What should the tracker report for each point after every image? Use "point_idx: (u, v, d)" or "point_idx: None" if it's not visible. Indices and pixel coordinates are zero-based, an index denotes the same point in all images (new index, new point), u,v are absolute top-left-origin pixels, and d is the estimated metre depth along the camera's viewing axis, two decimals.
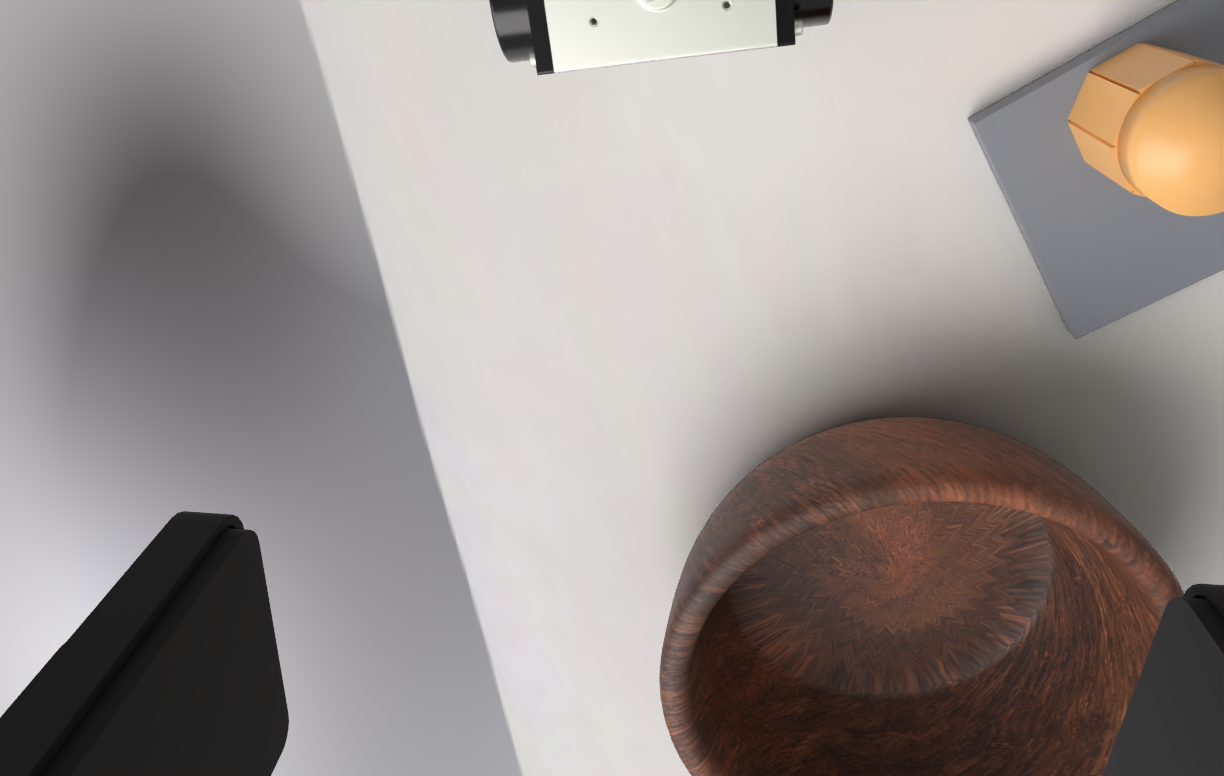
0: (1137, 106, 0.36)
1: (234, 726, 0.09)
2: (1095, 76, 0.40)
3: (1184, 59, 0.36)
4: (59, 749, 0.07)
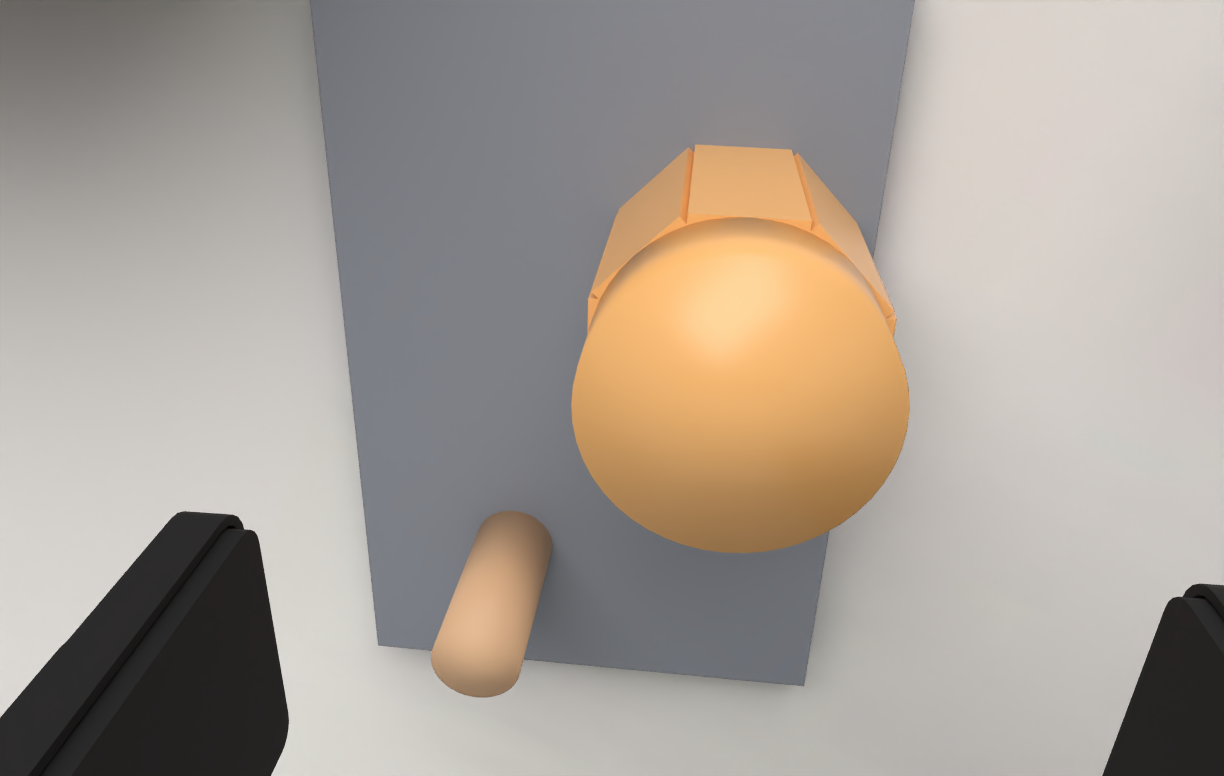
0: (879, 306, 0.15)
1: (234, 726, 0.09)
2: (860, 234, 0.20)
3: None
4: (58, 749, 0.07)
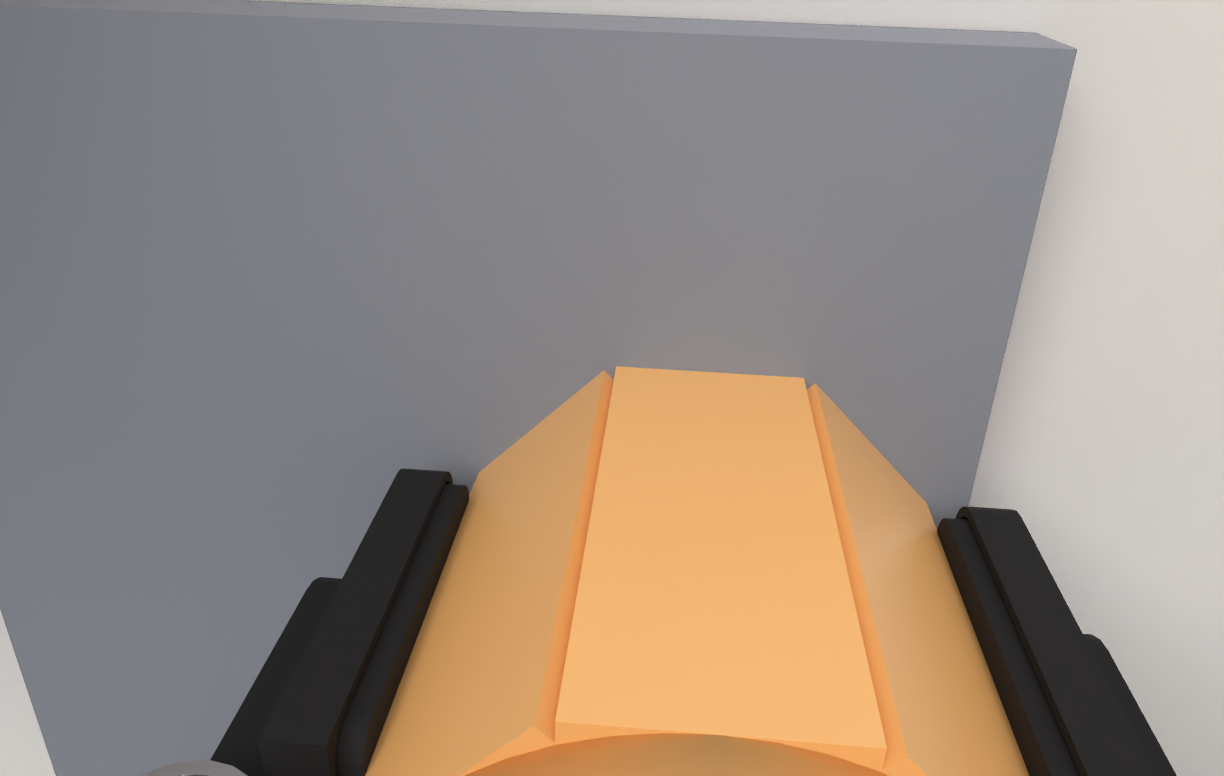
0: None
1: None
2: (940, 547, 0.10)
3: None
4: (367, 666, 0.08)
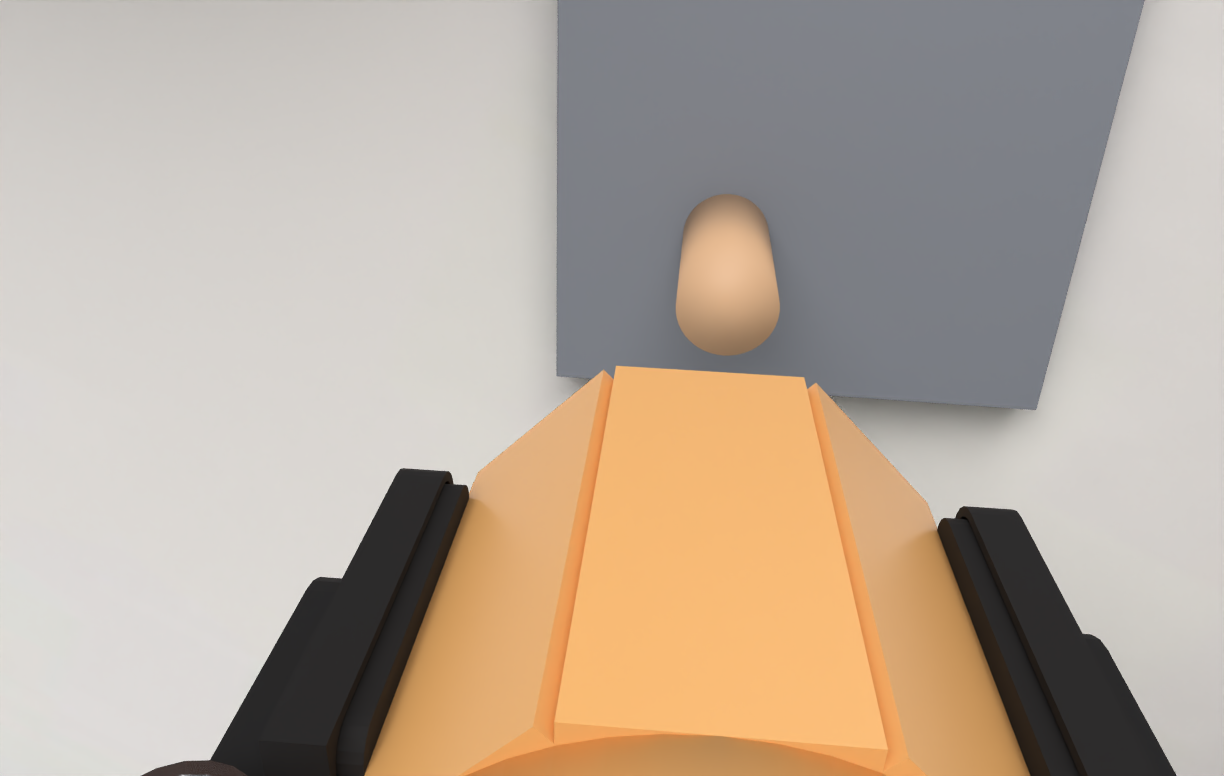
0: None
1: None
2: (941, 547, 0.10)
3: None
4: (367, 666, 0.08)
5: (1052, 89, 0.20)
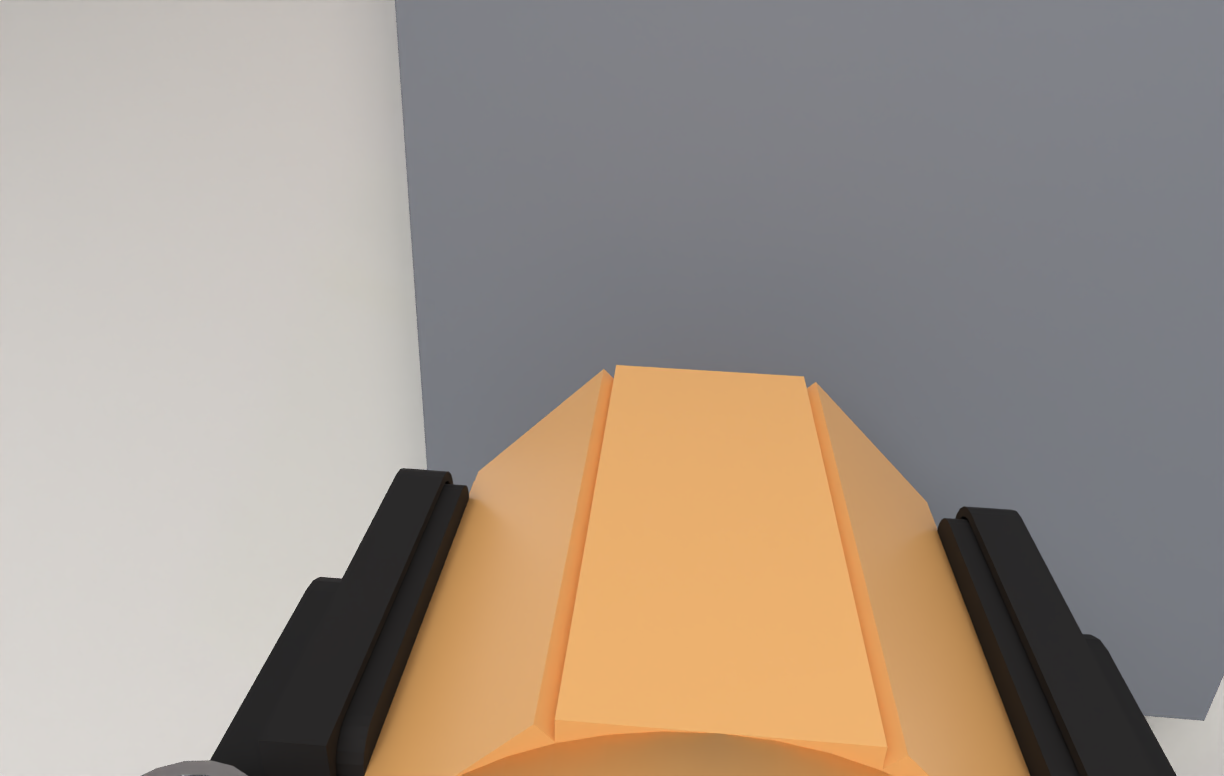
0: None
1: None
2: (941, 546, 0.10)
3: None
4: (367, 666, 0.08)
5: None
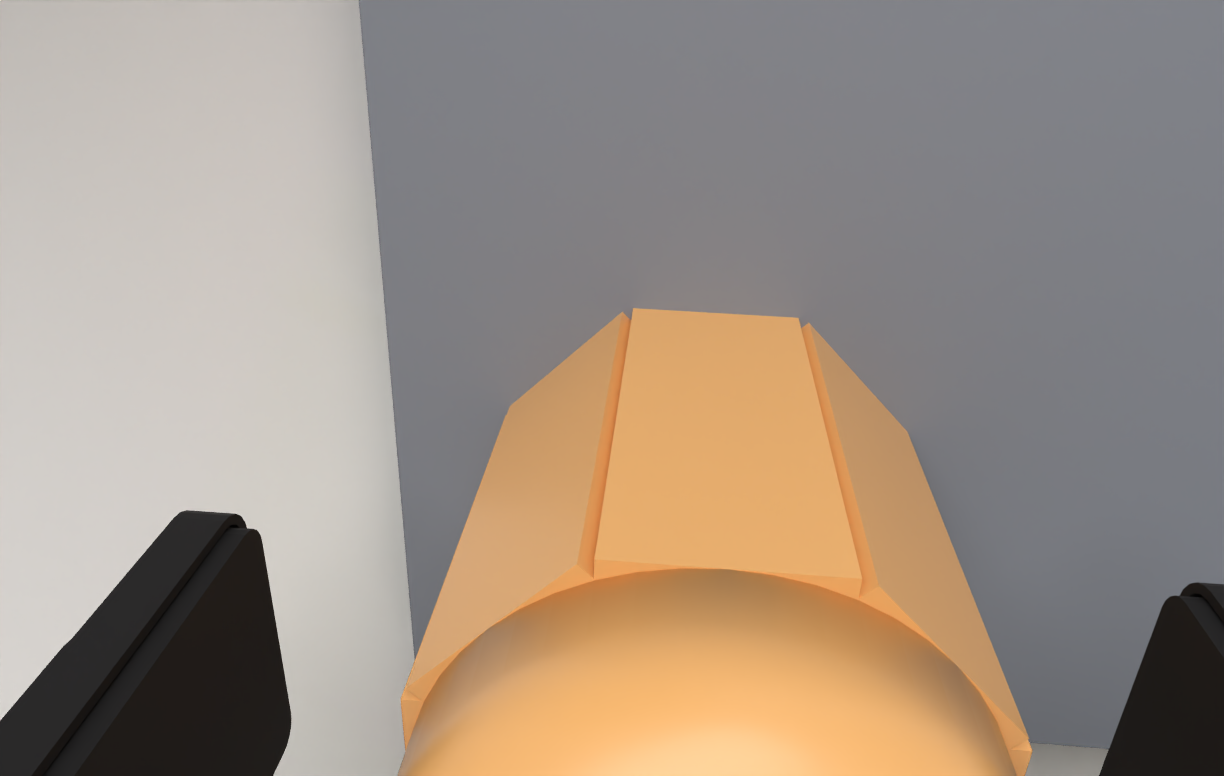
0: (1008, 756, 0.07)
1: (236, 724, 0.09)
2: (918, 466, 0.11)
3: None
4: (62, 747, 0.07)
5: None
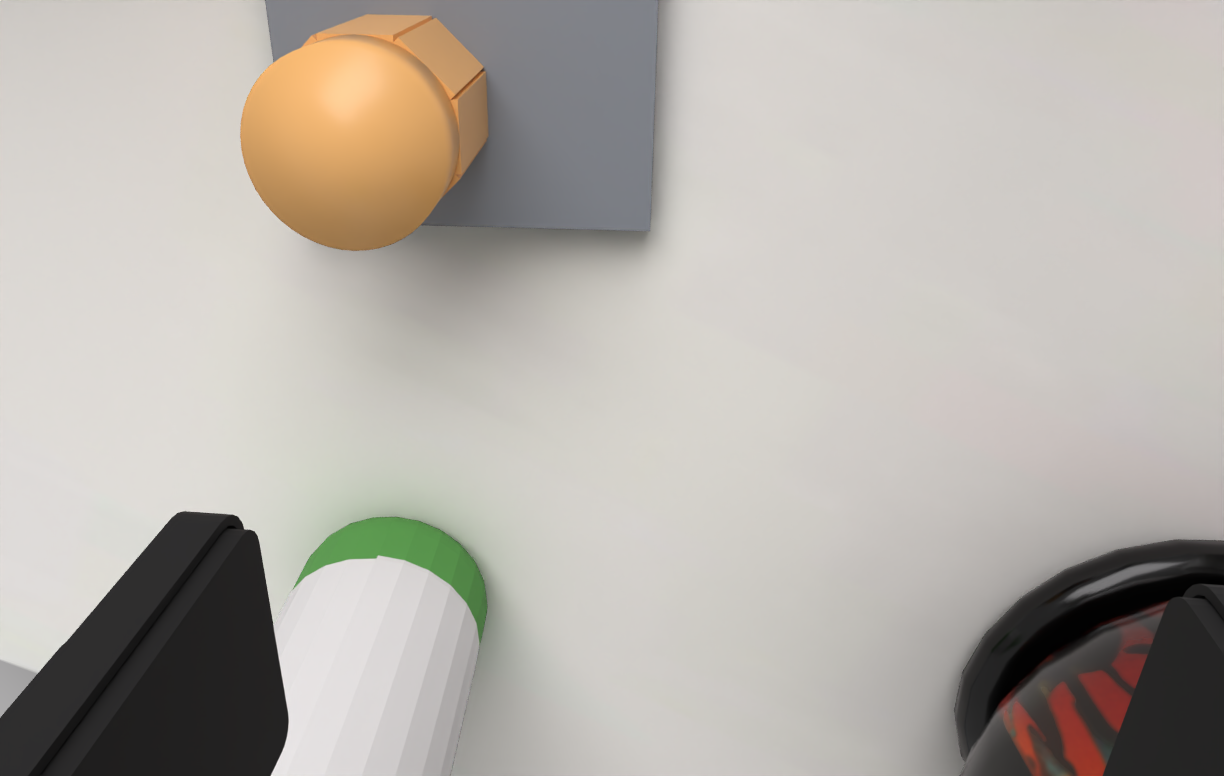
0: (438, 88, 0.25)
1: (233, 726, 0.09)
2: (478, 70, 0.29)
3: (464, 167, 0.27)
4: (58, 749, 0.07)
5: None
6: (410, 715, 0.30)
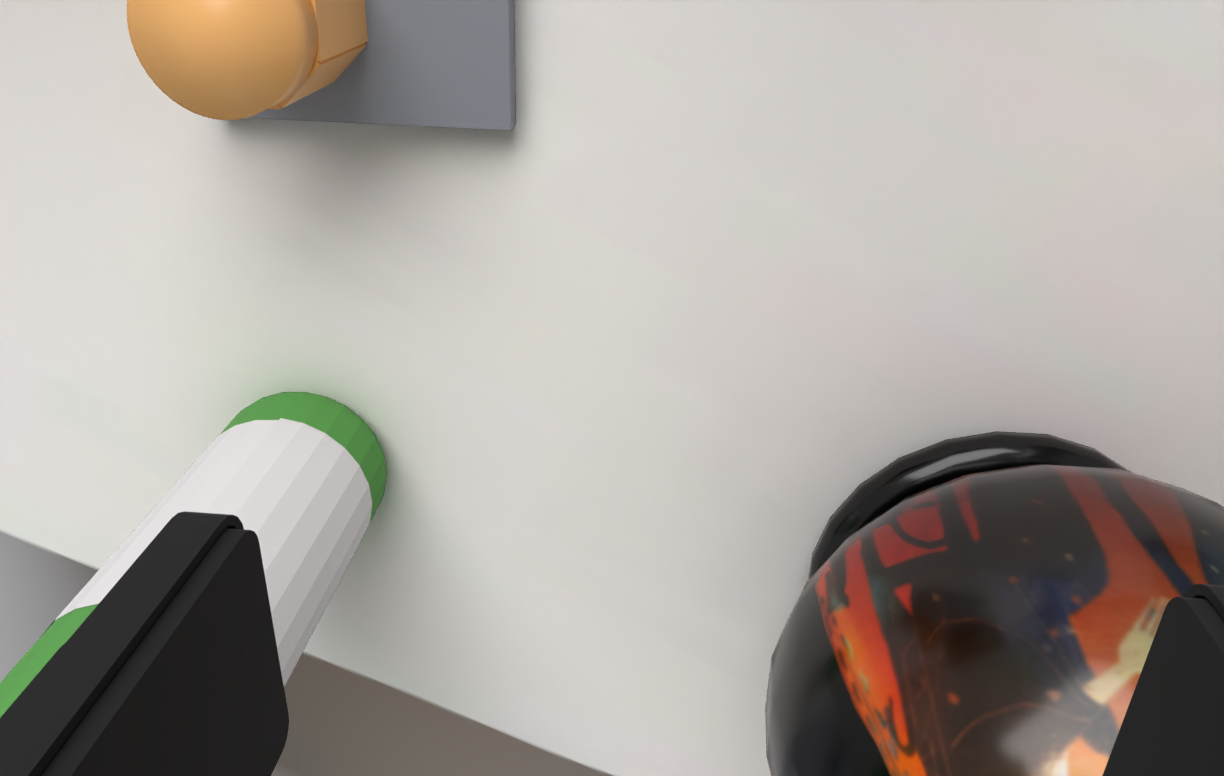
0: None
1: (234, 726, 0.09)
2: None
3: (327, 56, 0.32)
4: (59, 749, 0.07)
5: None
6: (285, 537, 0.35)
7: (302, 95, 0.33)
